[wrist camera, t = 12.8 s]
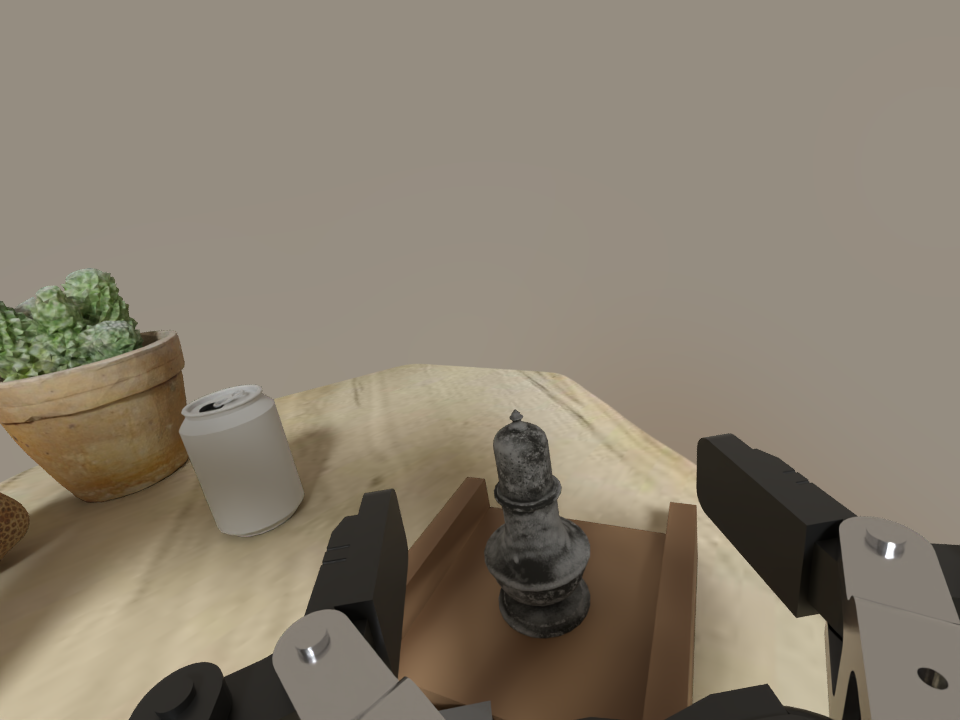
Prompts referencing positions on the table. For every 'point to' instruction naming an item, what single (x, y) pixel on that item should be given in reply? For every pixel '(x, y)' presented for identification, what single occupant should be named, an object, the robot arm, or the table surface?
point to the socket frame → (469, 712)
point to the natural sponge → (11, 523)
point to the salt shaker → (535, 539)
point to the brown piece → (558, 660)
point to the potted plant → (91, 389)
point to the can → (242, 460)
